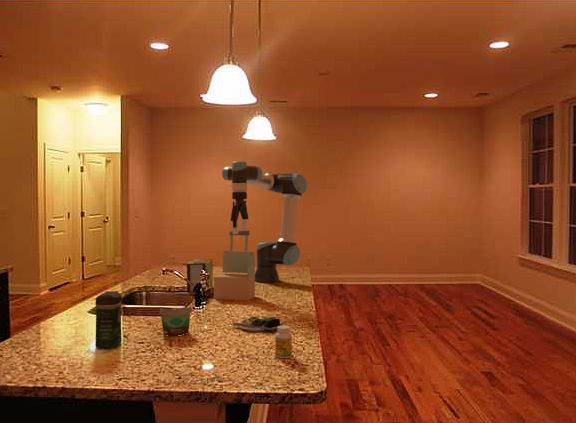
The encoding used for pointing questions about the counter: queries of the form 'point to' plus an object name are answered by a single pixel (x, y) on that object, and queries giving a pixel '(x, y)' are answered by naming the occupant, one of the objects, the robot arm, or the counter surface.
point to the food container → (175, 321)
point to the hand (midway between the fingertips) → (239, 232)
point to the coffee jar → (108, 320)
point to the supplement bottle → (283, 342)
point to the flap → (236, 256)
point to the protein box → (198, 272)
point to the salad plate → (260, 324)
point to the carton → (236, 284)
